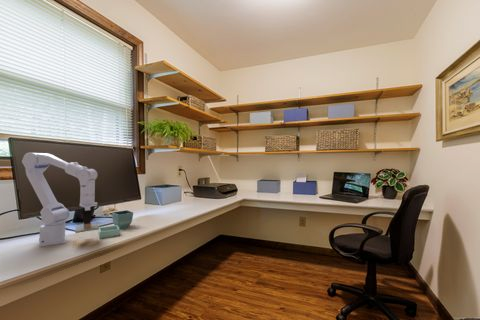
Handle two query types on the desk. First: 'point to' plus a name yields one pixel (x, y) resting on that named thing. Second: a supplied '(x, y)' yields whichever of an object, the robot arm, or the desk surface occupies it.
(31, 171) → the robot arm
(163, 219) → the desk surface
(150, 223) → the desk surface
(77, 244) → the mat
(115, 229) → the dish
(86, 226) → the lid
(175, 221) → the desk surface
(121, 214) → the flower pot
